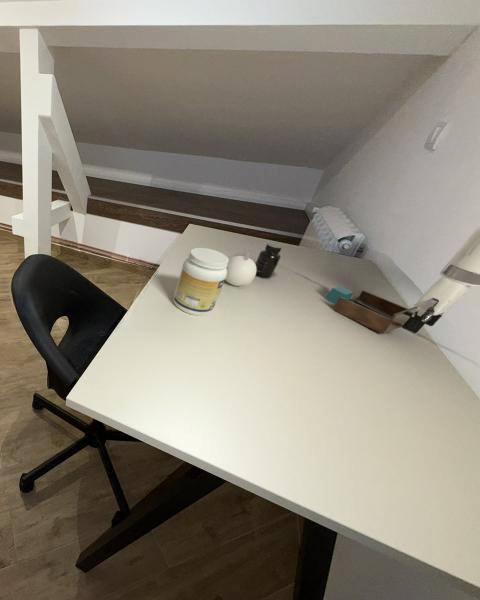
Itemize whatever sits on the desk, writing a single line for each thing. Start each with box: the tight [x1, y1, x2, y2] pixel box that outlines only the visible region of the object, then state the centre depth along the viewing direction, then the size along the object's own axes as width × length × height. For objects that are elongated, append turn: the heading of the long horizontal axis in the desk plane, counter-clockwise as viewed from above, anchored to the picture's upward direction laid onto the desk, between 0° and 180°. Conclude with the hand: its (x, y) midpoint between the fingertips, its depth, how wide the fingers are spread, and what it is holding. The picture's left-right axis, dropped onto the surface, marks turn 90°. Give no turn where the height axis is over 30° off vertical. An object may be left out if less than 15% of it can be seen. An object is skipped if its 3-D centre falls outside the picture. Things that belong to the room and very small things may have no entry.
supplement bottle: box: [254, 242, 283, 279], centre depth 115 cm, size 7×7×12 cm
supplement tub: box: [172, 247, 230, 316], centre depth 91 cm, size 12×12×17 cm
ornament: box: [225, 252, 257, 287], centre depth 106 cm, size 10×10×12 cm
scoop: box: [332, 289, 432, 335], centre depth 95 cm, size 18×14×7 cm
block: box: [325, 285, 354, 305], centre depth 105 cm, size 4×4×4 cm
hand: (417, 326), depth 88 cm, fingers open, 9 cm apart
